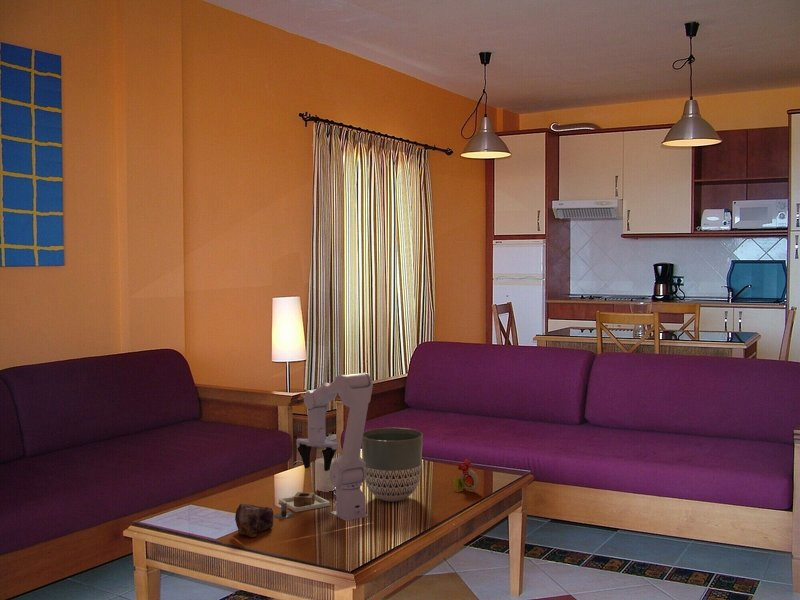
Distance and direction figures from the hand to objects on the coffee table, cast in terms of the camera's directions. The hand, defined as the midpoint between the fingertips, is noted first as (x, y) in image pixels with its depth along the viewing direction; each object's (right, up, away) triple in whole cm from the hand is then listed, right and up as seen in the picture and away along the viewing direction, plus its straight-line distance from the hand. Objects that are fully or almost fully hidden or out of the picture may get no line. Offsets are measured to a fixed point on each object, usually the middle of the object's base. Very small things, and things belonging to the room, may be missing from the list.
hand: (317, 469), depth 271 cm
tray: (-3, -10, -6) cm, 12 cm away
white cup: (+2, -10, +12) cm, 15 cm away
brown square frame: (-3, -10, -6) cm, 12 cm away
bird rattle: (+49, -10, +9) cm, 51 cm away
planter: (+24, -10, 0) cm, 26 cm away
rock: (-16, -12, -32) cm, 38 cm away
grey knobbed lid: (-8, -11, -18) cm, 22 cm away
